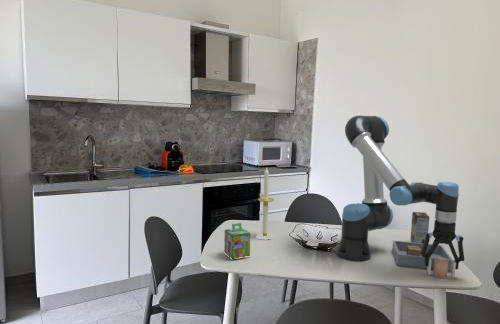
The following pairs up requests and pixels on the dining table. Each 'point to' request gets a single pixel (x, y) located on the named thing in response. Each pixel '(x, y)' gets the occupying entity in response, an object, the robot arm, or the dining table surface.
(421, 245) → the tray
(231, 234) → the chalk box
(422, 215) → the coffee box
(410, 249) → the walnut cube
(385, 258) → the dining table surface
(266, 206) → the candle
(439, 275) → the terracotta cylinder
